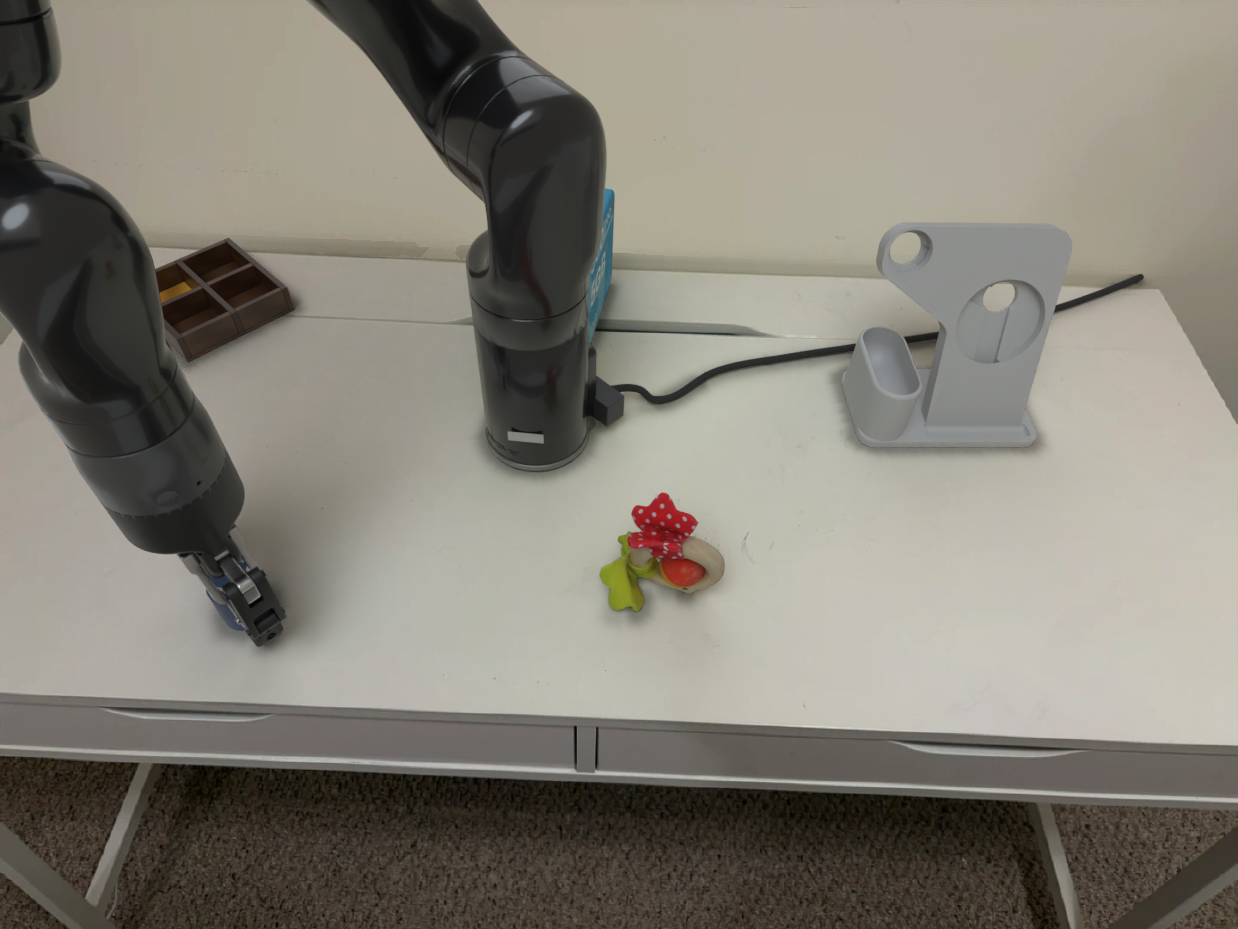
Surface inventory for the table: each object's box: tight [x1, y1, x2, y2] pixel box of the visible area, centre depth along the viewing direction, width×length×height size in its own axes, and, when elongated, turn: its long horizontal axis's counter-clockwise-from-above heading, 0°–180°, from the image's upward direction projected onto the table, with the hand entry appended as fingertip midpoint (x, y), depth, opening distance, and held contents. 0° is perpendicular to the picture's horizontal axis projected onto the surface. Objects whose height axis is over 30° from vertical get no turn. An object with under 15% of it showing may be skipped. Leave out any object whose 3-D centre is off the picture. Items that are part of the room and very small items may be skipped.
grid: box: [155, 237, 295, 363], centre depth 85 cm, size 12×12×3 cm
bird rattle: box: [599, 492, 726, 613], centre depth 62 cm, size 6×11×9 cm
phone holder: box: [840, 221, 1073, 448], centre depth 73 cm, size 17×10×18 cm, turn 92°
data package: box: [588, 187, 616, 345], centre depth 83 cm, size 12×4×12 cm, turn 169°
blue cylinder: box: [205, 561, 246, 632], centre depth 62 cm, size 4×4×4 cm
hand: (242, 603), depth 63 cm, fingers open, 7 cm apart
